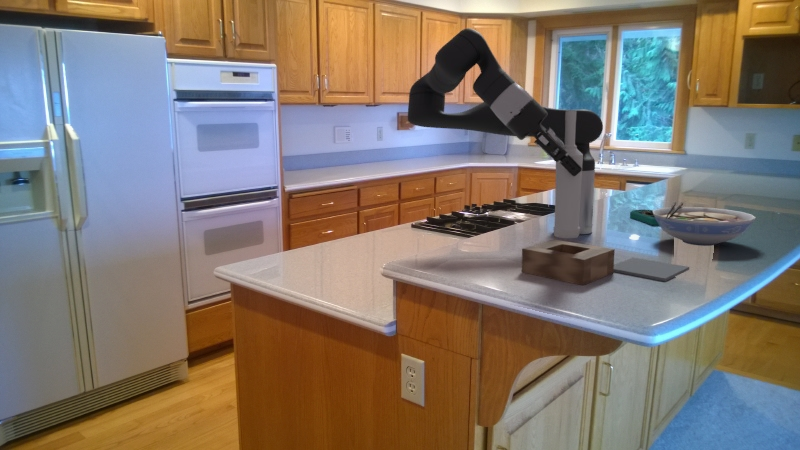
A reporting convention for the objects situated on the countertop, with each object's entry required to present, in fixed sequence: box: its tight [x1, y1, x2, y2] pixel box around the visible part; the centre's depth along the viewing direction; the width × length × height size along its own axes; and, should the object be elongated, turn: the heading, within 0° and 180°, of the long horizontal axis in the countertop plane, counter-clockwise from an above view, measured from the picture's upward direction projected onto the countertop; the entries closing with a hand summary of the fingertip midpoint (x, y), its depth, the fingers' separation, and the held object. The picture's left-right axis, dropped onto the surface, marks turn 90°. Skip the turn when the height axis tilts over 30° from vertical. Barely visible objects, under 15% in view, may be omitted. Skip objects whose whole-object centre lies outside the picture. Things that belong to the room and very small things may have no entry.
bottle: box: [553, 111, 583, 239], centre depth 116 cm, size 5×5×25 cm
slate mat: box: [613, 257, 690, 282], centre depth 121 cm, size 12×12×1 cm
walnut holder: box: [521, 239, 615, 286], centre depth 119 cm, size 14×12×5 cm
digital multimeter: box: [629, 209, 660, 227], centre depth 175 cm, size 7×15×3 cm, turn 5°
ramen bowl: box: [652, 201, 757, 247], centre depth 144 cm, size 25×23×8 cm
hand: (578, 171), depth 115 cm, fingers closed on bottle, 5 cm apart
